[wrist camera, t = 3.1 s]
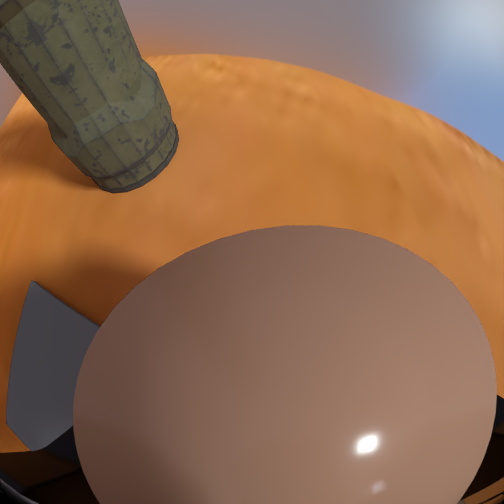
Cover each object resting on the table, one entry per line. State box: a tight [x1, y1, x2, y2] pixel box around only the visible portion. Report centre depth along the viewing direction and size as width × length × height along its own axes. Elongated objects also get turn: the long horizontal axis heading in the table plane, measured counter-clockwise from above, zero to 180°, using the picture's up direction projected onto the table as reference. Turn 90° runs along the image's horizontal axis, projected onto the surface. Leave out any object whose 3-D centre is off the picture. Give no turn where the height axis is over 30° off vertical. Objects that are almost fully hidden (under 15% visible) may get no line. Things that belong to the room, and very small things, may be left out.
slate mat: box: [6, 280, 101, 451], centre depth 14 cm, size 16×16×1 cm
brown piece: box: [73, 226, 497, 504], centre depth 9 cm, size 7×7×13 cm
